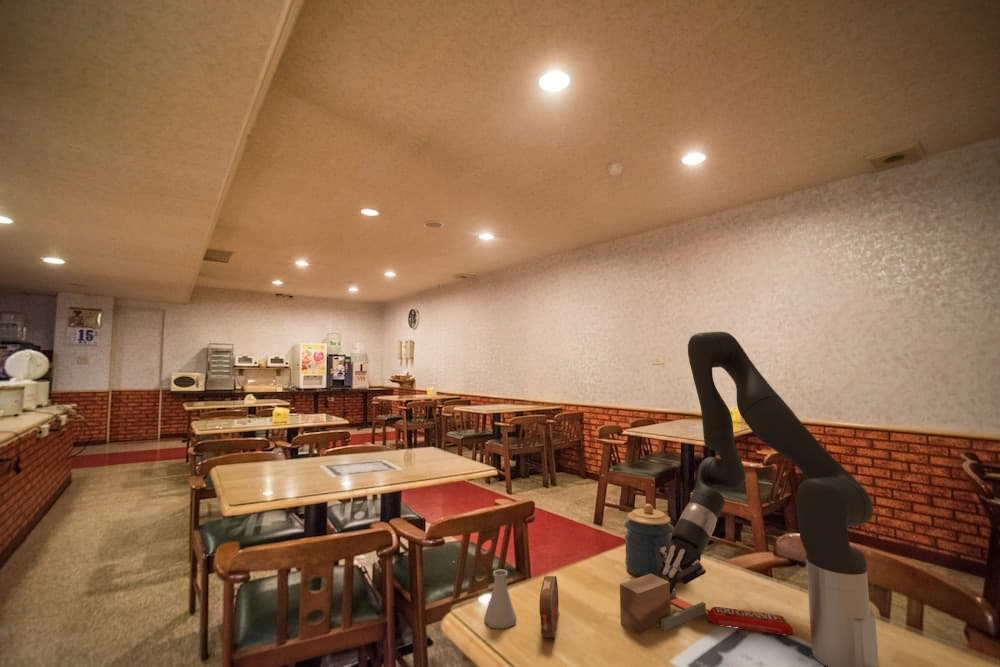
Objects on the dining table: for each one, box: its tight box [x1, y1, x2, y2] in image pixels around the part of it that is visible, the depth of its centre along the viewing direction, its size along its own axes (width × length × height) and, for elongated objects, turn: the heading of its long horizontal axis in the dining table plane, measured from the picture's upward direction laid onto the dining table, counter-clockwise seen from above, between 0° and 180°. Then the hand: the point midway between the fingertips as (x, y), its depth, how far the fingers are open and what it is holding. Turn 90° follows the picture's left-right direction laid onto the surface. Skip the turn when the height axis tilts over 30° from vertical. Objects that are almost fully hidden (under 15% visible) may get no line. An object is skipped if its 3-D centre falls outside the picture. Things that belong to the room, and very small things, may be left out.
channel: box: [660, 588, 707, 632], centre depth 100 cm, size 9×14×2 cm, turn 122°
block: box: [619, 574, 672, 635], centre depth 97 cm, size 5×10×8 cm, turn 122°
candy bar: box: [706, 606, 795, 635], centre depth 95 cm, size 16×4×3 cm, turn 73°
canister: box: [624, 503, 675, 578], centre depth 123 cm, size 13×13×18 cm
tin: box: [538, 575, 560, 639], centre depth 95 cm, size 15×3×8 cm, turn 168°
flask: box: [483, 568, 517, 629], centre depth 97 cm, size 7×7×10 cm
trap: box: [670, 596, 695, 610], centre depth 103 cm, size 6×3×1 cm, turn 32°
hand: (662, 594), depth 100 cm, fingers closed
